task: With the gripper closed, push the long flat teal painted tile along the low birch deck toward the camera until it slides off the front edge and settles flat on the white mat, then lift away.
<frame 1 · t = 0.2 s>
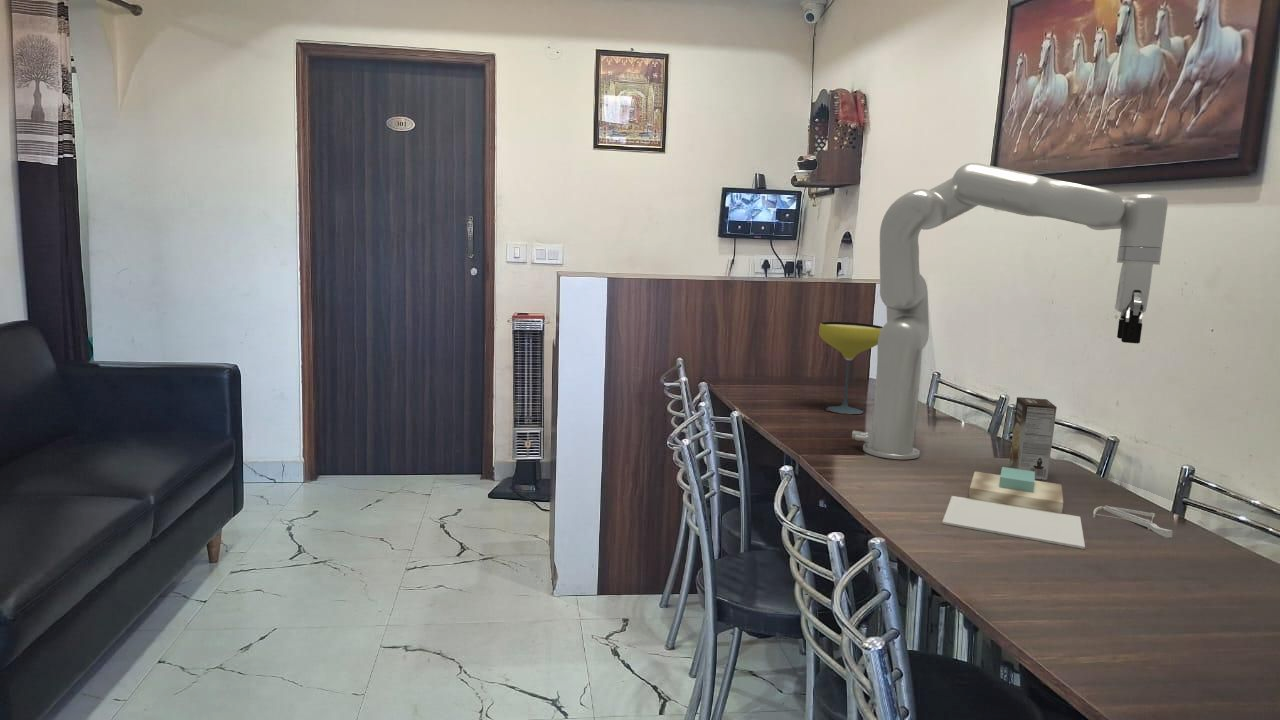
hand: (1127, 340, 174), 31 cm above the table, tool pointing down, fingers open, 9 cm apart
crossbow: (1134, 525, 154), on the table
teal tile: (1016, 484, 166), point 2 cm above the table, touching birch deck
cocktail glass: (844, 411, 246), on the table
birch deck: (1014, 498, 165), on the table
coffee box: (1027, 474, 185), on the table
white mat: (1012, 521, 151), on the table
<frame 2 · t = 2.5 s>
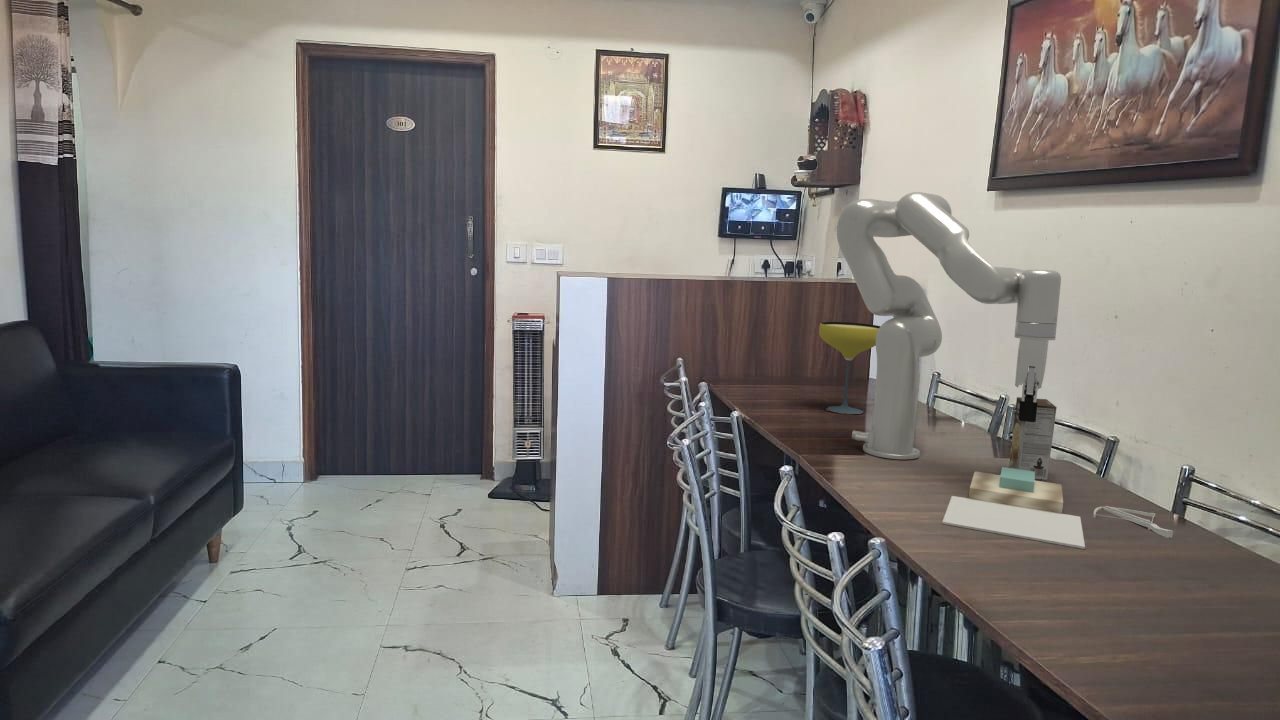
hand: (1027, 420, 173), 13 cm above the table, tool pointing down, fingers closed
nothing on the table moved.
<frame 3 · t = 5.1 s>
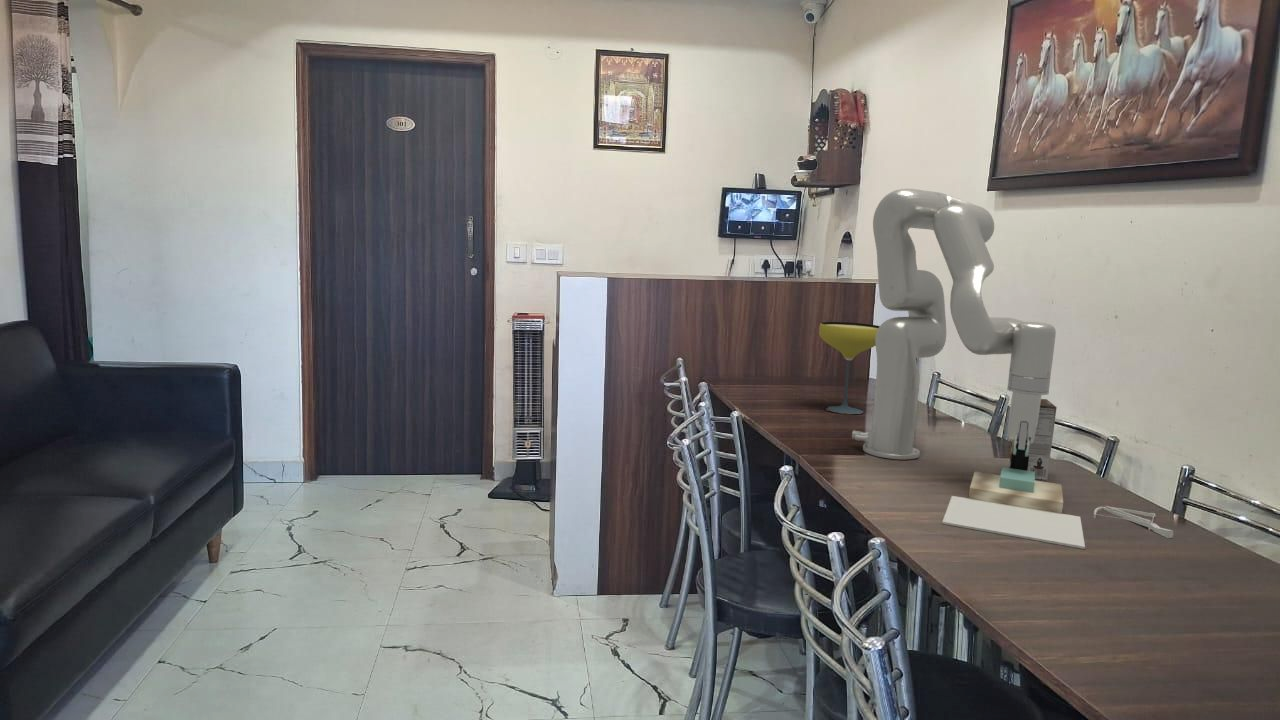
hand: (1018, 474, 171), 3 cm above the table, tool pointing down, fingers closed
teal tile: (1016, 484, 166), point 2 cm above the table, touching birch deck, gripper
everything else where it was.
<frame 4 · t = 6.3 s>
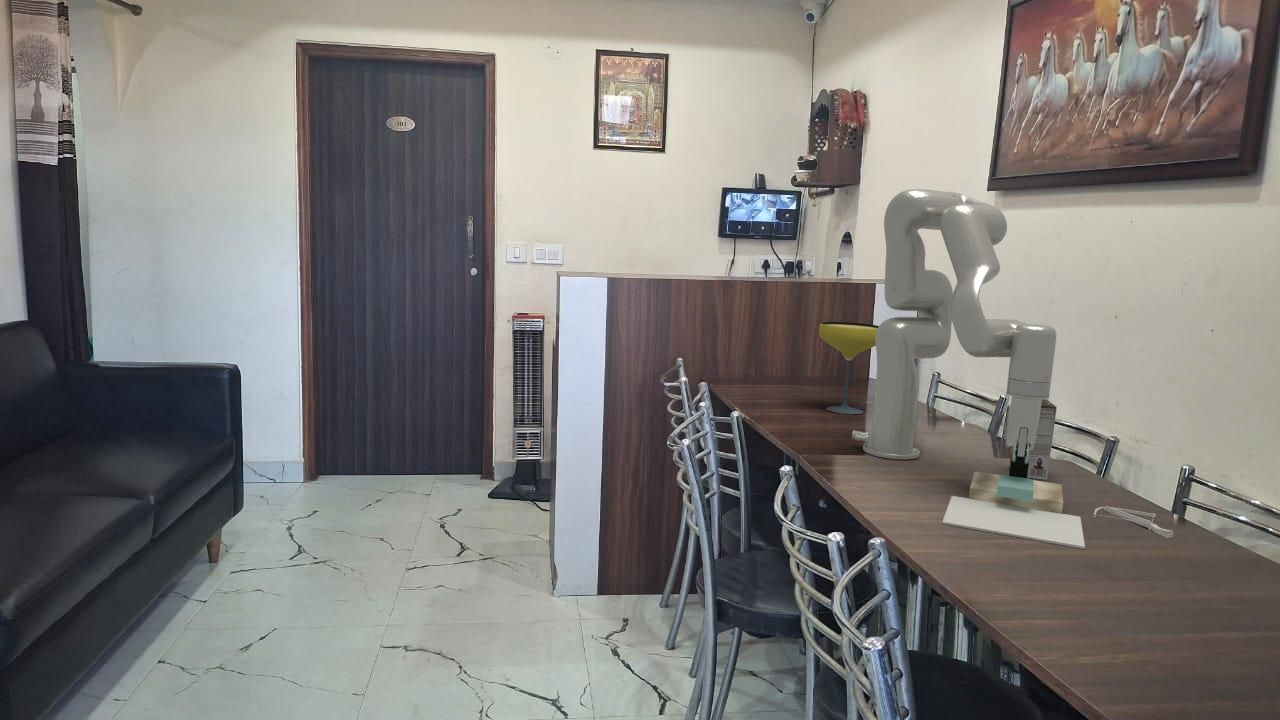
hand: (1017, 481, 165), 3 cm above the table, tool pointing down, fingers closed
teal tile: (1014, 492, 160), point 3 cm above the table, touching gripper
everything else where it was.
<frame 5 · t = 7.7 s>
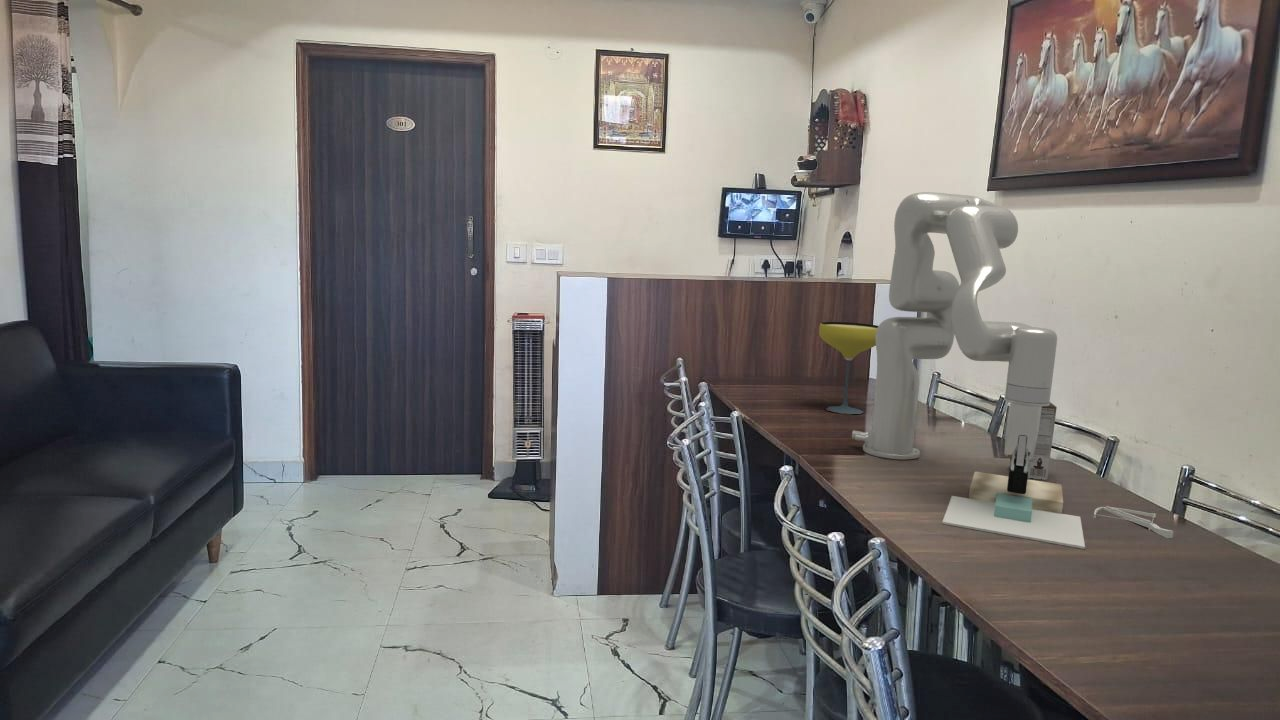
hand: (1016, 491, 158), 3 cm above the table, tool pointing down, fingers closed
teal tile: (1012, 512, 154), resting on white mat
everything else where it was.
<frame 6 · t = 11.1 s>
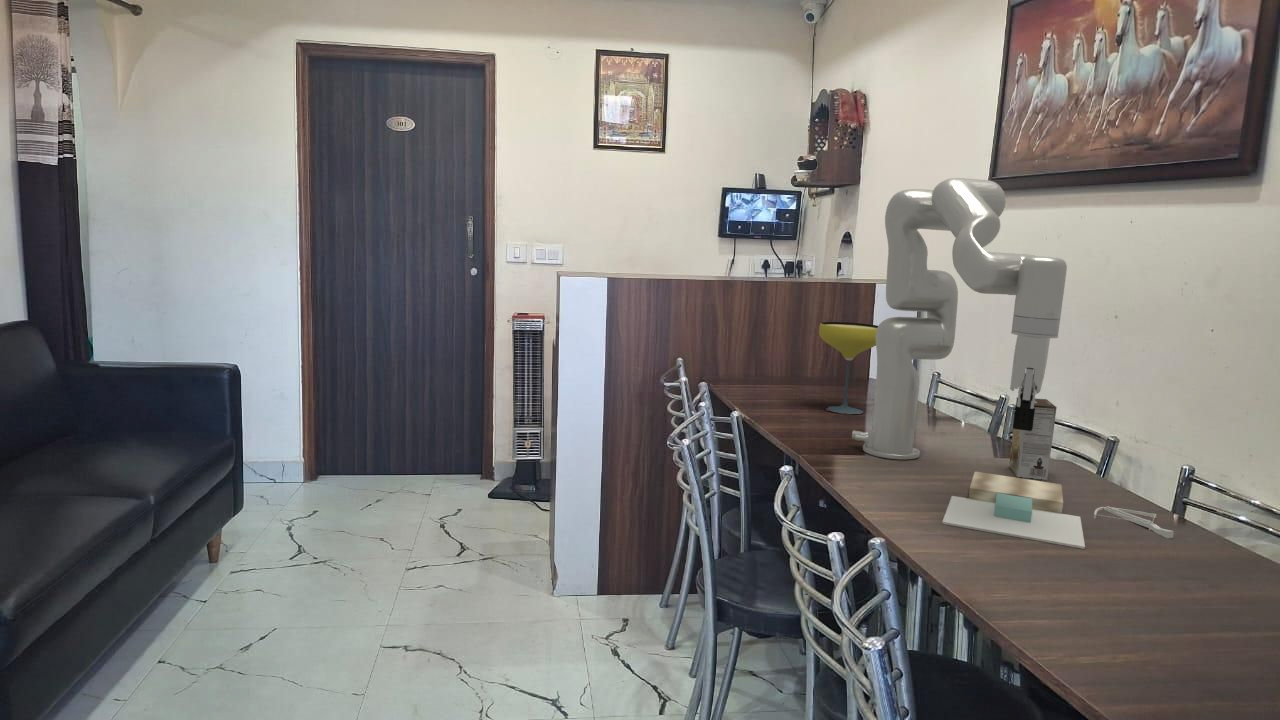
hand: (1022, 428, 152), 16 cm above the table, tool pointing down, fingers closed
nothing on the table moved.
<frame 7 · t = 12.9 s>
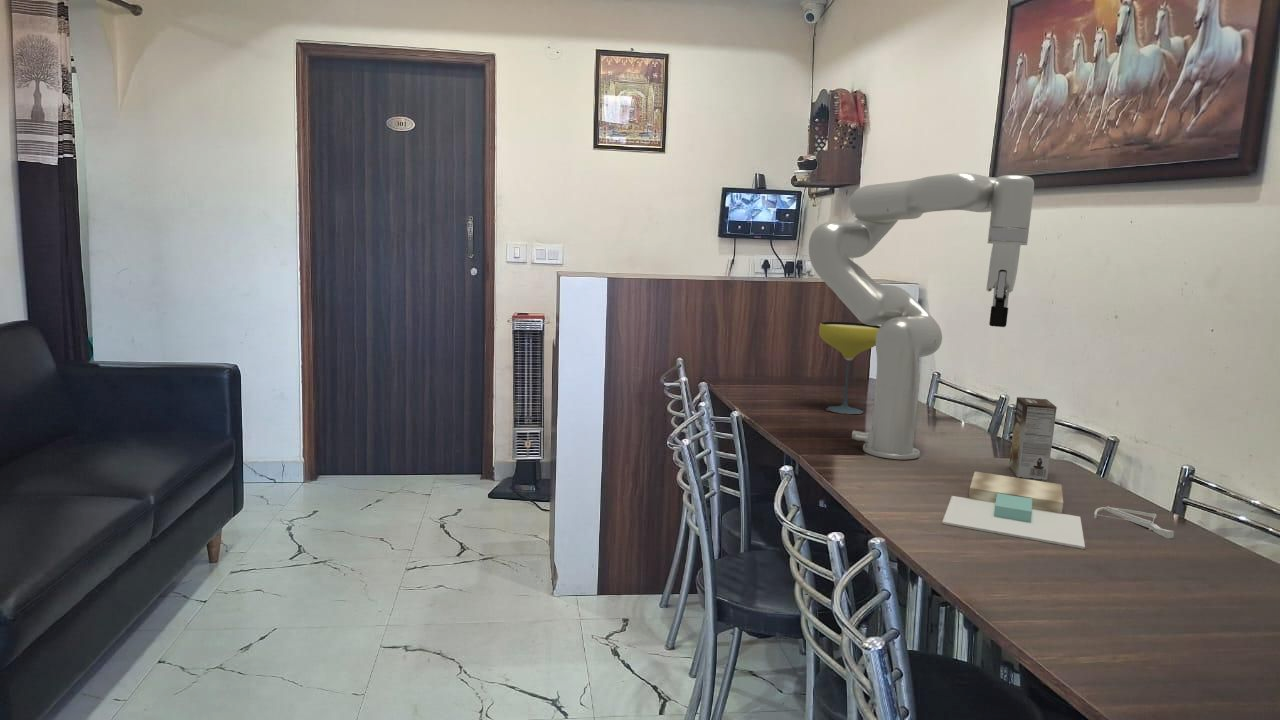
hand: (997, 326, 177), 32 cm above the table, tool pointing down, fingers closed
nothing on the table moved.
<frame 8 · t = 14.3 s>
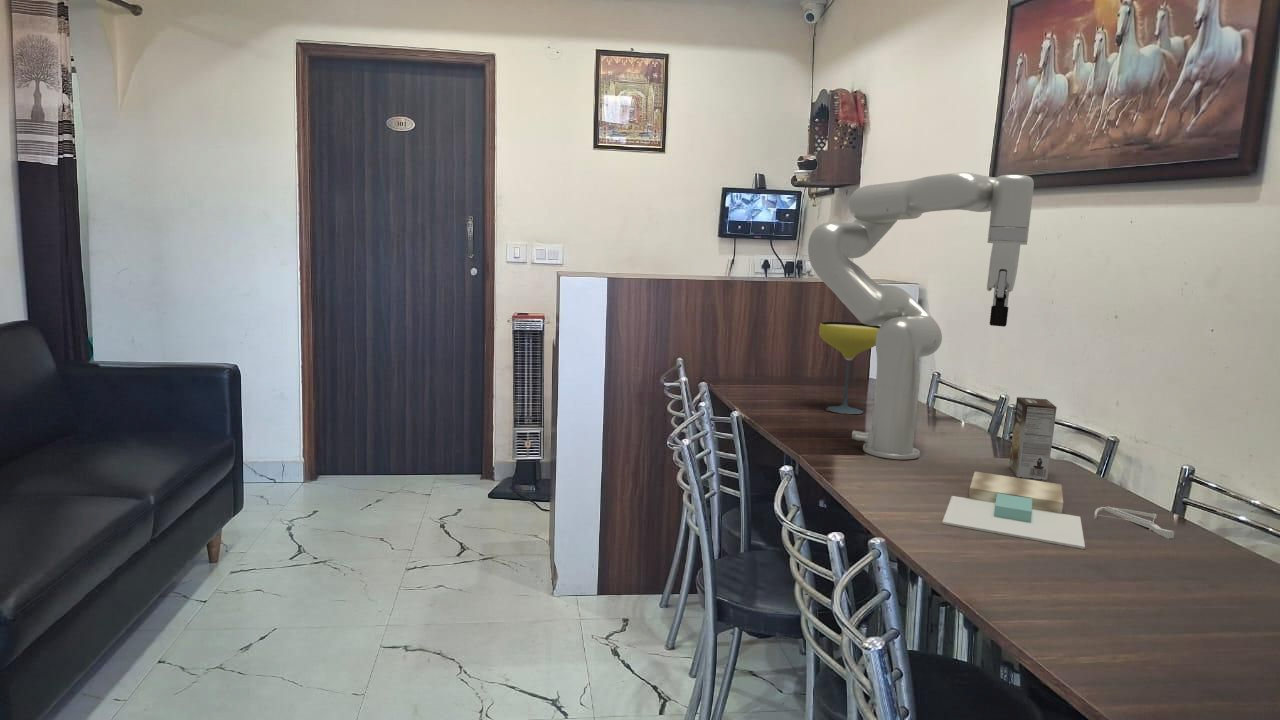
hand: (997, 325, 177), 32 cm above the table, tool pointing down, fingers closed
nothing on the table moved.
at the end: teal tile inside the target area (4.2 cm from its centre), resting on white mat; teal tile tilted 0°; teal tile touching white mat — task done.
